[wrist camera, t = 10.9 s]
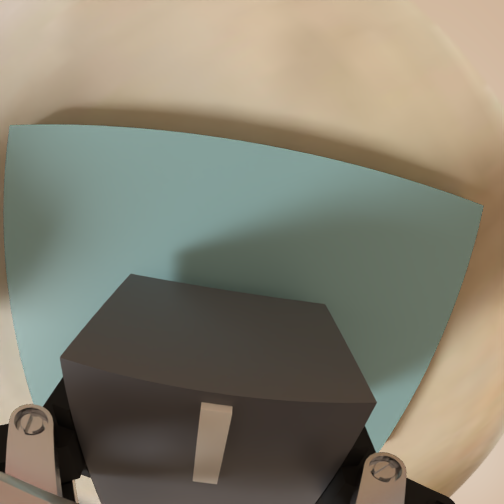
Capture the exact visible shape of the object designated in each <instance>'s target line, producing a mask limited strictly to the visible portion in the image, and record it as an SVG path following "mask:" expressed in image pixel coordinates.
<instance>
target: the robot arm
mask: <svg viewBox="0 0 504 504" xmlns="http://www.w3.org/2000/svg"><path fill="white" fill-rule="evenodd" d="M81 475H84V476H87V477H91V476H90V473H89V470H88V468H87V465H86V462H85V459H84V456H83V453H82V450H81V446H80V443H79V440H78V436H77V433H76V429H75V426H74V422H73V418H72V414H71V410H70V406H69V402H68V398H67V393H66V389H65V384H64V379H63V378H62V379H61V380H60V382H59V383H58V385H57V386H56V388H55V389H54V391H53V392H52V394H51V395H50V397H49V398H48V399H47V401H46V402H45V404H44V405H43V407H42V406H39V405H35V404H26V405H22V406H20V407H18V408H17V409H15V410H14V411H13V412H12V414H11V416H10V419H9V424H5V425H0V504H79V503H78V497H77V491H76V484H75V479H78V478H80V476H81ZM315 504H455V503H454V502H453V501H452V500H451V499H450V498H448V497H447V496H445V495H442V494H440V493H438V492H436V491H434V490H431V489H429V488H427V487H425V486H423V485H421V484H418V483H416V482H414V481H412V480H410V479H408V478H406V467H405V465H404V463H403V462H402V461H401V460H400V459H399V458H398V457H396V456H395V455H393V454H390V453H385V452H379V453H376V451H375V449H374V446H373V444H372V441H371V439H370V437H369V434H368V432H367V429H366V427H365V426H364V428H363V430H362V431H361V433H360V435H359V437H358V438H357V440H356V442H355V443H354V445H353V447H352V449H351V450H350V452H349V453H348V455H347V457H346V458H345V460H344V462H343V463H342V465H341V466H340V468H339V469H338V471H337V472H336V474H335V475H334V477H333V479H332V480H331V481H330V483H329V484H328V486H327V487H326V489H325V490H324V492H323V493H322V495H321V496H320V497H319V499H318V500H317V501H316V503H315Z"/></svg>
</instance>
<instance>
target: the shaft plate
mask: <svg viewBox="0 0 504 504" xmlns="http://www.w3.org/2000/svg"><path fill="white" fill-rule="evenodd" d="M483 207H484V206H483V205H481V204H478V203H475V202H473V201H470V200H467V199H464V198H462V197H459V196H456V195H453V194H450V193H448V192H445V191H442V190H439V189H436V188H433V187H430V186H427V185H424V184H420V183H417V182H414V181H411V180H408V179H404V178H401V177H398V176H394V175H391V174H387V173H384V172H380V171H377V170H373V169H369V168H366V167H362V166H358V165H354V164H350V163H346V162H342V161H338V160H334V159H330V158H325V157H321V156H317V155H312V154H308V153H303V152H298V151H294V150H289V149H284V148H279V147H273V146H268V145H263V144H257V143H251V142H245V141H239V140H233V139H227V138H220V137H213V136H206V135H198V134H190V133H182V132H173V131H164V130H154V129H143V128H130V127H115V126H96V125H61V124H38V125H10V127H9V135H8V143H7V152H6V163H5V178H4V248H5V262H6V274H7V283H8V291H9V299H10V306H11V312H12V318H13V324H14V329H15V334H16V339H17V344H18V348H19V353H20V357H21V361H22V365H23V369H24V373H25V377H26V380H27V384H28V387H29V391H30V394H31V397H32V400H33V403H34V404H35V405H39V406H42V407H43V405H44V404H45V402H46V401H47V399H48V398H49V397H50V395H51V394H52V392H53V391H54V389H55V388H56V386H57V385H58V383H59V382H60V380H61V379H62V378H63V374H62V369H61V363H60V356H61V355H62V354H63V352H64V351H65V350H66V349H67V347H68V346H69V345H70V344H71V342H72V341H73V340H74V339H75V338H76V336H77V335H78V334H79V333H80V331H81V330H82V329H83V328H84V327H85V325H86V324H87V323H88V322H89V321H90V319H91V318H92V317H93V316H94V315H95V314H96V312H97V311H98V310H99V309H100V308H101V307H102V305H103V304H104V303H105V302H106V301H107V300H108V298H109V297H110V296H111V295H112V294H113V293H114V292H115V290H116V289H117V288H118V287H119V286H120V285H121V284H122V283H123V281H124V280H125V279H126V278H127V277H128V276H129V275H130V274H136V275H141V276H147V277H152V278H158V279H163V280H169V281H175V282H180V283H186V284H192V285H198V286H204V287H210V288H217V289H223V290H229V291H236V292H242V293H249V294H256V295H263V296H269V297H276V298H284V299H291V300H298V301H306V302H313V303H321V304H325V305H326V306H327V308H328V310H329V312H330V314H331V316H332V317H333V319H334V321H335V323H336V325H337V327H338V328H339V330H340V332H341V334H342V336H343V338H344V340H345V342H346V343H347V345H348V347H349V349H350V351H351V353H352V355H353V357H354V359H355V361H356V362H357V364H358V366H359V368H360V370H361V372H362V374H363V376H364V378H365V380H366V382H367V384H368V386H369V388H370V390H371V392H372V394H373V395H374V397H375V399H376V401H377V404H376V406H375V407H374V409H373V411H372V413H371V415H370V417H369V419H368V421H367V422H366V424H365V427H366V429H367V432H368V434H369V437H370V439H371V441H372V444H373V446H374V449H375V451H376V453H379V451H380V450H381V448H382V447H383V445H384V443H385V442H386V440H387V439H388V437H389V436H390V434H391V433H392V431H393V429H394V428H395V426H396V424H397V423H398V421H399V419H400V418H401V416H402V414H403V413H404V411H405V409H406V407H407V406H408V404H409V402H410V400H411V398H412V397H413V395H414V393H415V391H416V389H417V387H418V385H419V384H420V382H421V380H422V378H423V376H424V374H425V372H426V370H427V368H428V366H429V364H430V361H431V359H432V357H433V355H434V353H435V351H436V348H437V346H438V344H439V342H440V339H441V337H442V335H443V332H444V330H445V328H446V325H447V323H448V320H449V318H450V315H451V313H452V310H453V308H454V305H455V302H456V300H457V297H458V294H459V291H460V288H461V285H462V283H463V280H464V277H465V273H466V270H467V267H468V264H469V261H470V257H471V254H472V250H473V247H474V243H475V240H476V236H477V232H478V228H479V224H480V220H481V216H482V211H483Z"/></svg>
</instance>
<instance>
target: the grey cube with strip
mask: <svg viewBox="0 0 504 504" xmlns="http://www.w3.org/2000/svg"><path fill="white" fill-rule="evenodd" d="M60 363H61V369H62V374H63V379H64V384H65V389H66V393H67V398H68V402H69V406H70V410H71V414H72V418H73V422H74V426H75V429H76V433H77V436H78V440H79V443H80V446H81V450H82V453H83V456H84V459H85V462H86V465H87V468H88V470H89V473H90V476H91V479H92V481H93V484H94V487H95V489H96V492H97V494H98V497H99V499H100V502H101V504H315V503H316V501H317V500H318V499H319V497H320V496H321V495H322V493H323V492H324V490H325V489H326V487H327V486H328V484H329V483H330V481H331V480H332V479H333V477H334V475H335V474H336V472H337V471H338V469H339V468H340V466H341V465H342V463H343V462H344V460H345V458H346V457H347V455H348V453H349V452H350V450H351V449H352V447H353V445H354V443H355V442H356V440H357V438H358V437H359V435H360V433H361V431H362V430H363V428H364V426H365V424H366V422H367V421H368V419H369V417H370V415H371V413H372V411H373V409H374V407H375V406H376V404H377V401H376V399H375V397H374V395H373V394H372V392H371V390H370V388H369V386H368V384H367V382H366V380H365V378H364V376H363V374H362V372H361V370H360V368H359V366H358V364H357V362H356V361H355V359H354V357H353V355H352V353H351V351H350V349H349V347H348V345H347V343H346V342H345V340H344V338H343V336H342V334H341V332H340V330H339V328H338V327H337V325H336V323H335V321H334V319H333V317H332V316H331V314H330V312H329V310H328V308H327V306H326V305H325V304H321V303H313V302H306V301H298V300H291V299H284V298H276V297H269V296H263V295H256V294H249V293H242V292H236V291H229V290H223V289H217V288H210V287H204V286H198V285H192V284H186V283H180V282H175V281H169V280H163V279H158V278H152V277H147V276H141V275H136V274H130V275H129V276H128V277H127V278H126V279H125V280H124V281H123V283H122V284H121V285H120V286H119V287H118V288H117V289H116V290H115V292H114V293H113V294H112V295H111V296H110V297H109V298H108V300H107V301H106V302H105V303H104V304H103V305H102V307H101V308H100V309H99V310H98V311H97V312H96V314H95V315H94V316H93V317H92V318H91V319H90V321H89V322H88V323H87V324H86V325H85V327H84V328H83V329H82V330H81V331H80V333H79V334H78V335H77V336H76V338H75V339H74V340H73V341H72V342H71V344H70V345H69V346H68V347H67V349H66V350H65V351H64V352H63V354H62V355H61V356H60Z"/></svg>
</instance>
